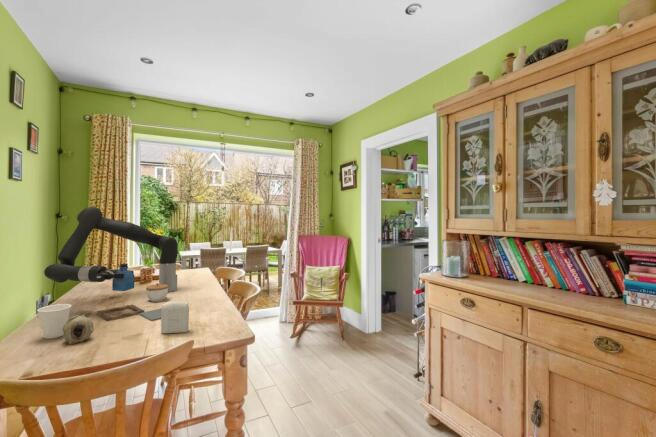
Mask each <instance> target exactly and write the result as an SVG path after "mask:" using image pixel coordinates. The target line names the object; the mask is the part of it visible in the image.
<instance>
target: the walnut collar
mask: <svg viewBox="0 0 656 437" xmlns="http://www.w3.org/2000/svg"><path fill="white" fill-rule="evenodd" d="M123 310H131V311H130V312H125V313H120V314H119V313H118V314H116V315H115V314H114V315H110V314H109V313H115V312H118V311H123ZM142 312H145V309H143V308H140V307H138V306H136V305H135V304H129V305H123V306H117V307H113V308H112V307H111V308H107V309H101V310H97V311H96V315H98V316H99V317H100V318H102V319H104V320H105V321H107V322H108V321H110V322H111V321H113V320H114V321H115V320H117V319H118V320H119V319H123V318H128V317H132V316H137V315H139V313H142Z"/></svg>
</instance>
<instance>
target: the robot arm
mask: <svg viewBox="0 0 656 437" xmlns="http://www.w3.org/2000/svg"><path fill="white" fill-rule="evenodd" d="M76 220H77V222H78V224H77V226H76V228H75V230H74V231H73V233H72V234H71V235H70V236H69V238H68V239H67V240H66V242H65V244H64V245H63V247H62V248H61V250H60V252H59V253H58V255H57V259H58V261H59V262H60V263H52V264H50V265H48V266H47V267H45V269H44V271H43V273H44V276H45V277H46V278H48V279H49V280H51V281H54V282H56V283H59V284H62V283H65V282H67V281H68V280H69V281H70V282H85V283H103V282H105V281H110V280H112V279H115V278H118V279H122V278H124V274H121V273H116V272H117V271H120V269H119V268H114V269H113V268H112V269H111V268H110V269H108V268H107V266H104V265H83V266H82V265H75V264H76V263H75V262H76V260H77V258H78V256H79V254H80V253H81V250H82V249H83V246H84V245H85V243H86V242H87V240H88V238H89V236H90V234H92V232H93V230H94V229H95V230H98V231H99V230H100V231H103V232H106V233H110V234H111V235H114V236H118V237H120V238H122V239H126V240H128V241H130V242H131V241H132V242H136V243H139V244H144V245H145V244H146V245H148V246H151V247H154V248H156V249H157V250H160V251H161V256H160V258H159V260H158V262H159V264H158V266H159V270H158V284H166V285H168V293H171V292H172V293H173V292H176V291H178V274H177V258H178V249H179V244H178V241H177V239H176V238H174V237H171V236H165V235H160V234H157V233H154V232H152V231H150V230H148V229H147V228H145V227H143V226H141V225H138V224H135V223H133V222H129V221H124V220H115V219H111V218H108V217H105V216H103V212H102V210H101V209H100V208H98V207H96V206H89V207H85V208H84V209H82V210H81V211H80V212H79V213H78V214H77V216H76ZM131 271H132V273H133V274H134V272H135V271H134V270H131ZM115 273H116V274H115ZM134 275H135V274H134Z"/></svg>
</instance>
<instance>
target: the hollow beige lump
mask: <svg viewBox="0 0 656 437" xmlns="http://www.w3.org/2000/svg"><path fill="white" fill-rule="evenodd" d="M94 327H95V326H94V322H93V321H92V319H91V318H89V317H86V316H85V314H81V315H78V314H76V315H73V316H71V317H70V318H68V320H67V322H66V323H65V324H64V326H63V328H62V330H63V336H62V337H63V338H64V340H65V342H66V343H68V344H69V345H70V344H73V345H75V344H77V343H83V342H84V341H85V340H88V339H90V338H91V336H92V334H93V333H94Z"/></svg>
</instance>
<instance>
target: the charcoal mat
mask: <svg viewBox="0 0 656 437" xmlns="http://www.w3.org/2000/svg"><path fill="white" fill-rule="evenodd" d="M161 309H162V307H161V308H156V309H152V310H147V311H144V312H142V313H139V314H138V315H139V316H141V317H143V318H145V319H147V320H148V321H151V322H154V321H158V320H161Z"/></svg>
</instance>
